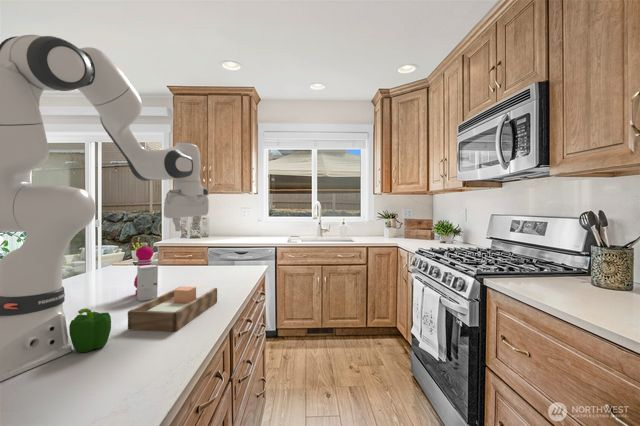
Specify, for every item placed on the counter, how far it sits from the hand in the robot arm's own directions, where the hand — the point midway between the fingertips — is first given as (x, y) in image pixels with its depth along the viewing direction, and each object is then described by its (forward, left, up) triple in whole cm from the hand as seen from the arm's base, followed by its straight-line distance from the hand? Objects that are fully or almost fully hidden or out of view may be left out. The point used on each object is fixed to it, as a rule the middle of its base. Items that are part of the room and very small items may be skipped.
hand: (187, 229), depth 114 cm
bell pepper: (-37, +5, -26) cm, 46 cm away
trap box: (-11, -3, -26) cm, 28 cm away
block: (-7, -3, -23) cm, 24 cm away
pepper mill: (+10, +22, -26) cm, 36 cm away
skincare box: (+4, +17, -26) cm, 32 cm away
